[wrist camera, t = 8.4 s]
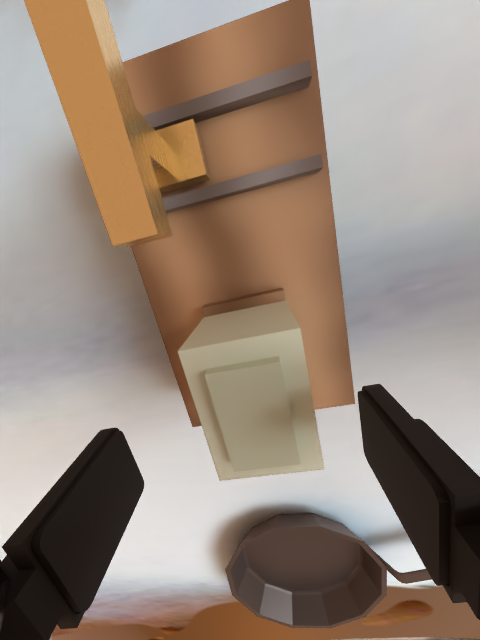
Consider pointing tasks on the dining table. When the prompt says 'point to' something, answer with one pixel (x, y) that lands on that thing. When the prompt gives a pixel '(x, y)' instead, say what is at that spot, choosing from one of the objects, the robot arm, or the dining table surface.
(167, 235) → the key
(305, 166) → the board
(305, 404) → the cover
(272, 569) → the frying pan
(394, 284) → the dining table surface
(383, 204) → the dining table surface
